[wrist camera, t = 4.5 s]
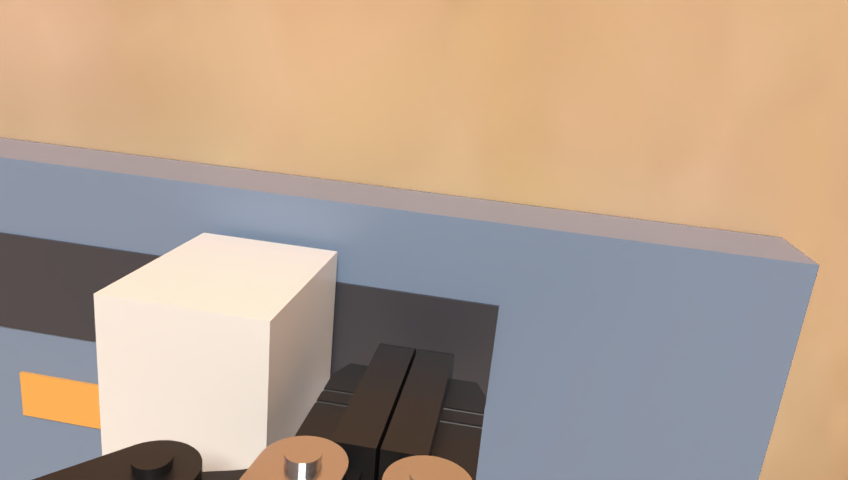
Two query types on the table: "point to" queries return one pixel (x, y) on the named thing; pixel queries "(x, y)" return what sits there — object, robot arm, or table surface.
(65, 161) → the switch bank
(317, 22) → the table surface
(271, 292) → the tab
